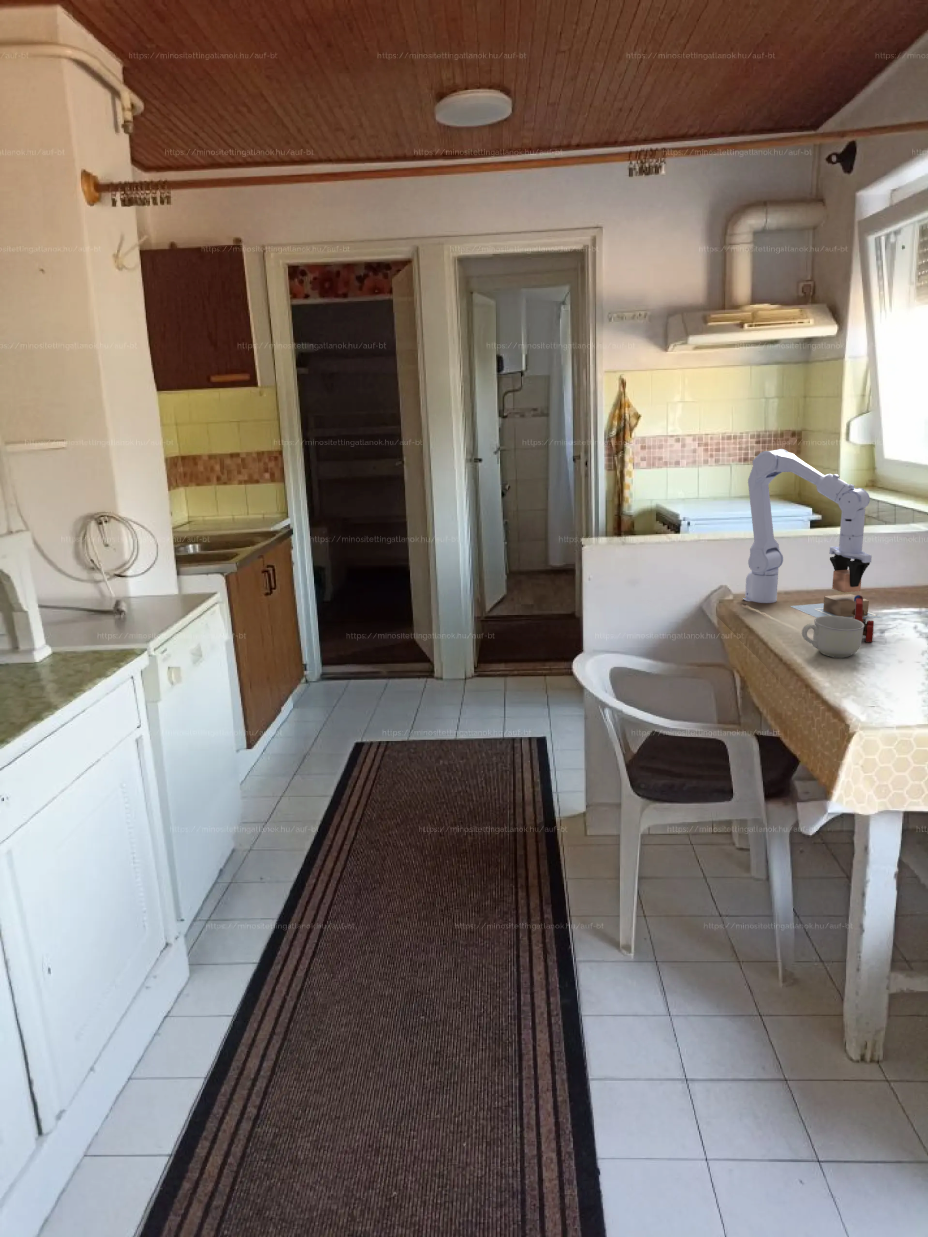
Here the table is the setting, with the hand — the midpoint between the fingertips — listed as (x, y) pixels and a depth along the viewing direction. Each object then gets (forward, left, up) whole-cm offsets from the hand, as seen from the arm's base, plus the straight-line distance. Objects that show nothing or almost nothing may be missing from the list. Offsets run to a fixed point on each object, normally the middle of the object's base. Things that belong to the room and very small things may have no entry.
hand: (847, 584), depth 228 cm
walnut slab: (0, 0, -8) cm, 8 cm away
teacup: (+30, -24, -9) cm, 39 cm away
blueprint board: (-2, -2, -9) cm, 9 cm away
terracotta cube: (0, 0, -2) cm, 2 cm away
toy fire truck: (+20, -10, -9) cm, 24 cm away
